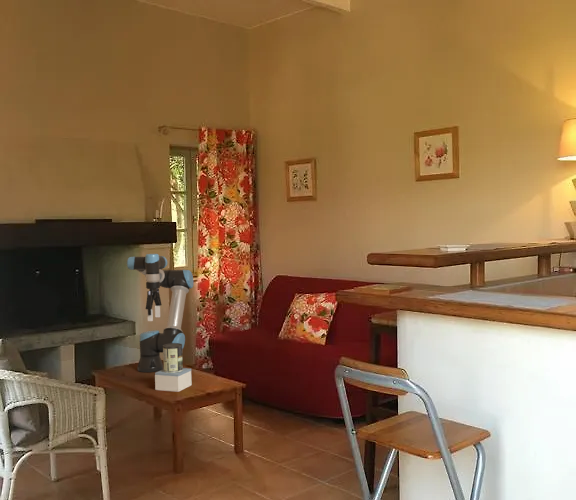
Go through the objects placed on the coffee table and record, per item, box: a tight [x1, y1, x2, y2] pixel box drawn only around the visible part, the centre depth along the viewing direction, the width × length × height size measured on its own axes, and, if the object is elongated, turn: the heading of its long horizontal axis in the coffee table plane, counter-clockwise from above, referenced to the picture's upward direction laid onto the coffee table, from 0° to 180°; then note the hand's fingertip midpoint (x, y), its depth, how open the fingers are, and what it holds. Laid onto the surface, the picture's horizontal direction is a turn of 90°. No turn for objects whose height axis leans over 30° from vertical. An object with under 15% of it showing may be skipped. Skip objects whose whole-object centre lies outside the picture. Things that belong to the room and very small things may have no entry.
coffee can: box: [162, 343, 184, 373], centre depth 348 cm, size 10×10×14 cm
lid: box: [154, 367, 192, 376], centre depth 349 cm, size 14×14×1 cm
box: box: [154, 370, 192, 392], centre depth 349 cm, size 14×14×8 cm
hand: (154, 319), depth 364 cm, fingers open, 13 cm apart
